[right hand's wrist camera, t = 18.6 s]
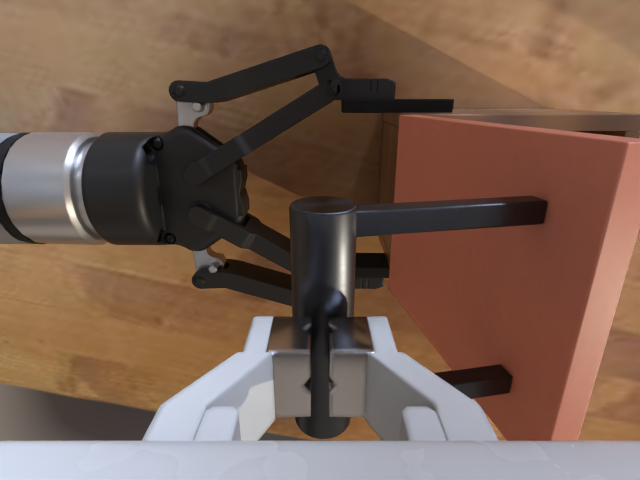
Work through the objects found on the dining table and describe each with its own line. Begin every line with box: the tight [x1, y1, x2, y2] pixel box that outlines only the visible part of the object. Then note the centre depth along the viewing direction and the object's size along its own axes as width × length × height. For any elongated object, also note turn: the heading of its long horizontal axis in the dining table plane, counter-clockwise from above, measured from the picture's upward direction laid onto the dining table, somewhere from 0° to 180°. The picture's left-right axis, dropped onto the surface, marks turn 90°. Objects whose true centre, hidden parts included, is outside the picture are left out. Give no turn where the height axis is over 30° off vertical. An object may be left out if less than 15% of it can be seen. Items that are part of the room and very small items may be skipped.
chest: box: [378, 108, 640, 268], centre depth 28 cm, size 13×10×10 cm
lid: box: [289, 115, 640, 441], centre depth 16 cm, size 13×10×8 cm
